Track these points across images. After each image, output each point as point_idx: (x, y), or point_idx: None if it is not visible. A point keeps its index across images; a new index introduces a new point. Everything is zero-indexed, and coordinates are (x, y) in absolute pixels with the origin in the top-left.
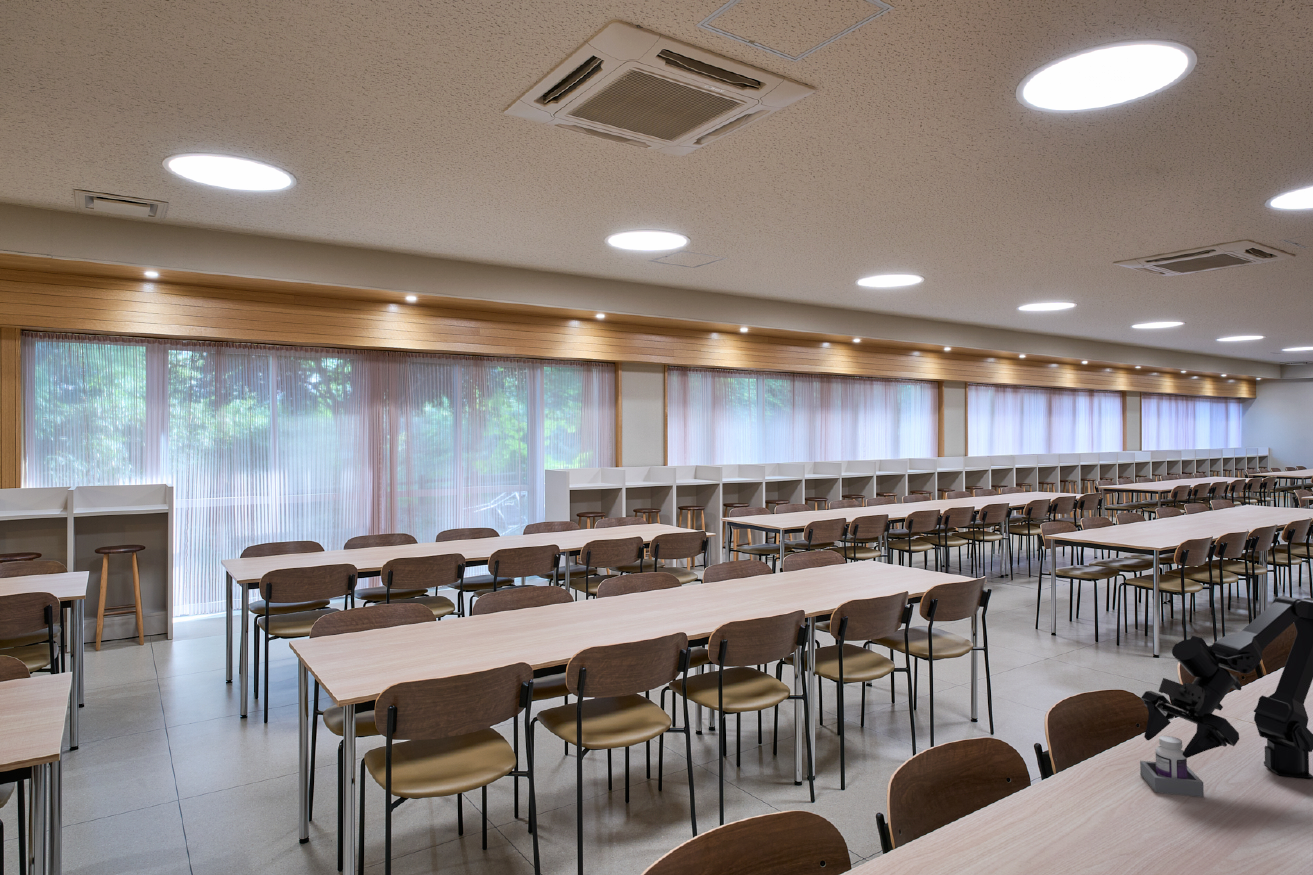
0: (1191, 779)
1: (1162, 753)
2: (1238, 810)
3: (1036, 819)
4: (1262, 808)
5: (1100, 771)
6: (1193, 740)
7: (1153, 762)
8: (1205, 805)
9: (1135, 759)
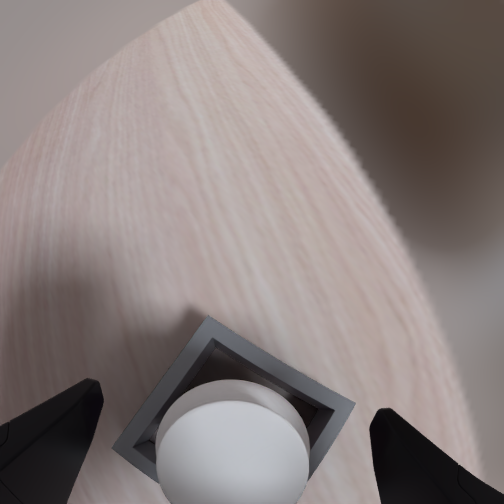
0: None
1: (225, 380)
2: None
3: (219, 57)
4: None
5: (381, 292)
6: (18, 433)
7: (325, 441)
8: None
9: None
